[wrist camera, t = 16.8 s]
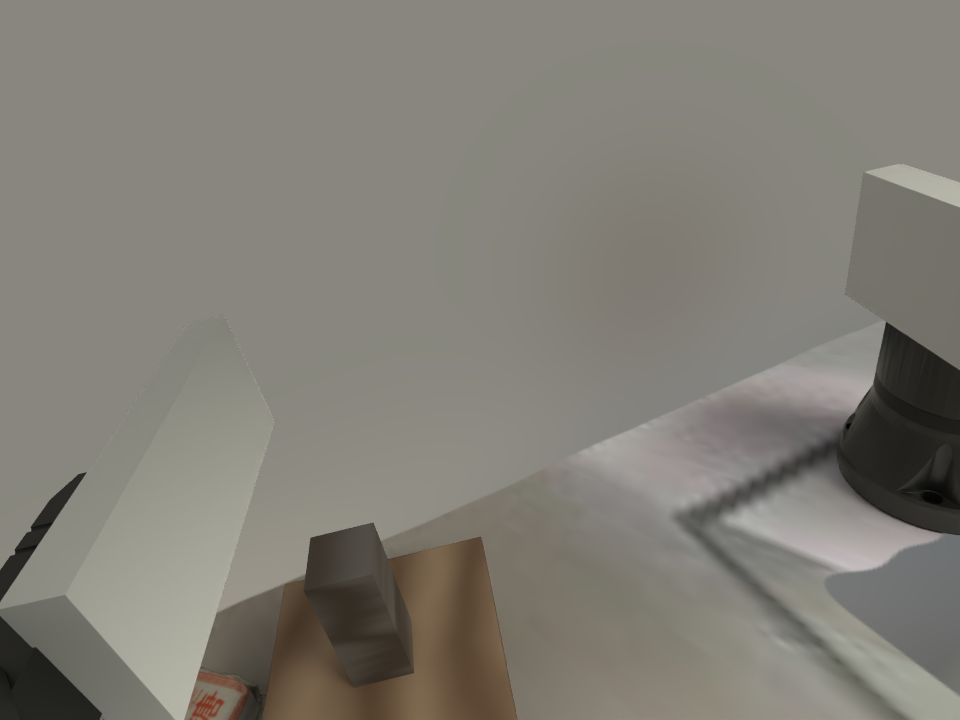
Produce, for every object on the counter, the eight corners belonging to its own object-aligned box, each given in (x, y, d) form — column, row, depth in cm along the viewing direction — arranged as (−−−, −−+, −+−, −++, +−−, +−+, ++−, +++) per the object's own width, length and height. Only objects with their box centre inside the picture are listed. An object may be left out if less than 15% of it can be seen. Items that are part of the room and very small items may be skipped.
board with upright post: (483, 546, 48) (455, 441, 43) (524, 756, 35) (492, 643, 29) (290, 594, 48) (235, 494, 42) (254, 826, 34) (167, 725, 28)
